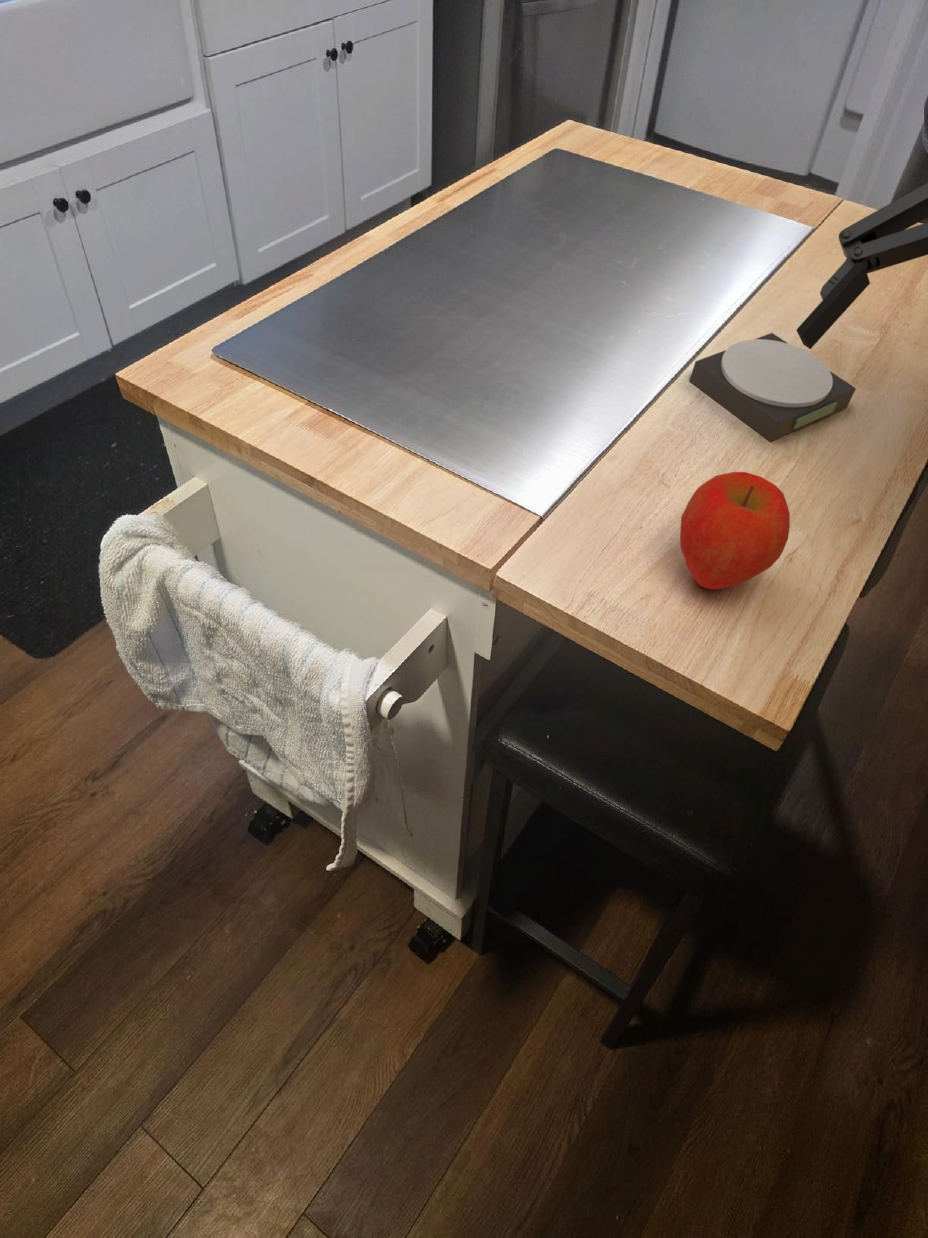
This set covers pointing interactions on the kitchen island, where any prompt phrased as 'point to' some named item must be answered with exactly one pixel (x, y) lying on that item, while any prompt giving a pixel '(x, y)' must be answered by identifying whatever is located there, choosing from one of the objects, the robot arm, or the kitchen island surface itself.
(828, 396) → the kitchen scale
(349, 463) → the kitchen island surface
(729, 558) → the apple
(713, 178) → the kitchen island surface
